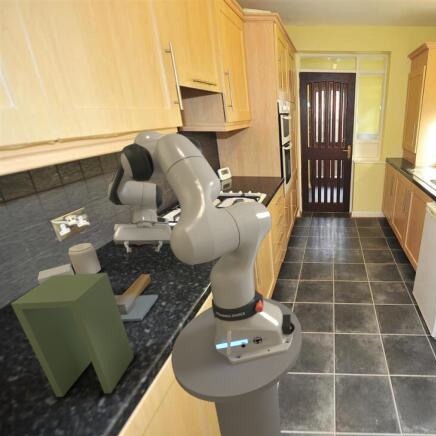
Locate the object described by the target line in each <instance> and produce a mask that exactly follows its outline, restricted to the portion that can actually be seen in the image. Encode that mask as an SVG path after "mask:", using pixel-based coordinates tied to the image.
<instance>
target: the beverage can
mask: <svg viewBox="0 0 436 436" xmlns="http://www.w3.org/2000/svg"><path fill="white" fill-rule="evenodd" d="M68 256H69V259H70V261H71V264H72V268H73V269H74V270H73V271H74V273H75V274H97V273H99V272H100V271H101V270H102V267H101V264H100V261H99V257H98V254H97V252H96V249H95V246H94V245H93V244H92V243H90V242H84V243H79V244H75V245H72V246H71V247H69V248H68Z"/></svg>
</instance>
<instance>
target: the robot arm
mask: <svg viewBox="0 0 436 436" xmlns="http://www.w3.org/2000/svg"><path fill="white" fill-rule="evenodd" d="M160 179H166V180H167V182H168V184H169V186H170V188H171V189H172V191H173V192H174V194H175V196H176V199H177V200H178V203H179V207H180V213H179V218H178V219H177V222H176V223H175V225H174V226H173V227H171V226H170V221H169V219H168V218H166V217H162V216H159V215H158V213H157V211H158V209H159V208H160V207H161V206H162V205H163V189H162V187H161V186H160V185H159V184H158V183H152V182H154V181H157V180H160ZM221 191H222V184H221V180H220V178H219V177H218V175H217V174H216V172H215V170H214V169H213V168H212V166H211V165H210V163H209V162H208V160H207V159H206V157H205V153H204V149H203V147H202V144H200V142H199V141H198V140H197V139H195V138H194V137H191V136H185V135H183V134H180V133H168V134H165V135H163V134H162V133H160V132H158V131H156V130H151V129H150V130H143V131H141V132H139V133H138V134H136V136H135V138H134V140H133V142H132V143H131V144H128V145H125V146H123V148H122V149H121V151H120V161H119V162H118V164H117V166H116V168H115V171H114V174H113V177H112V180H110V183H109V184H108V188H107V197H108V200H109V202H111V203H112V204H113V205H115V206H133V210H134V211H133V215H132V221H119V222H117V223H115V224H114V225H113V231H114V233H113V238H112V239H113V243H114V244H116V245H123V247H124V248H125V249H126V255H129V254H132V253H133V250H132V249H133V248H132V247H129V246H130V245H136V244H143V245H149V244H151V245H152V244H153V245H154V244H157V246H156V247H154V253H155V254H159V253H160V249H162V248H163V247H162V246H163V244H169V246H170V249H171V251H172V253H173V255H174V256H175V257H176V258H177V259H178V260H179V261H180V262H181V263H183V264H185V265H188V266H192V265H193V266H194V265H199V264H203V263H207V262H211V261H214V260H216V259H218V260H217V262H215V264H214V265H213V267H212V268H211V270H210V273H209V282H210V290H211V296H212V298H211V307H212V310H213V314H214V318H215V321H216V328H215V337H214V346H215V348H216V350H217V351H218V352H219V353H221V354H222V355H224V356H226V358H227V359H228V361H229V362H230V363H231V364H237V363H241V362H246V361H250V360H254V359H259V358H263V357H268V356H272V355H277V354H281V353H285V352H287V351H288V349H289V348H290V346H291V343H292V339H293V331H294V329H295V326H294V324H293V323H292V322H291V314H282V311H281V309H280V308H279V307H278V306H276V305H274V304H271V303H269V302H267V301H265V300H263V298H264V296H263V289H262V288H261V289H260V292H259V291H258V290H256V289H255V264H256V259H257V256H258V252H259V250H260V248H261V245H262V243H263V241H264V239H265V238H266V236H267V235H268V233H269V232H270V231H271V229H272V222H273V221H272V216H271V213H270V210H269V209H268V208H267V207H266V206H265V204H263V203H262V202H259V201H242V202H238V203H234V204H231V205H228V206H225V207H219V208H218V207H216V205H214V202H215V201H216V200H217V199H218V197H219V196H220V194H221Z"/></svg>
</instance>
